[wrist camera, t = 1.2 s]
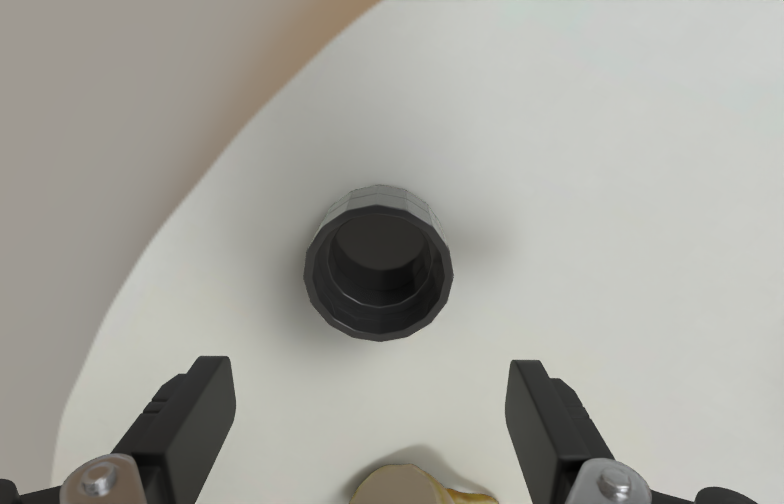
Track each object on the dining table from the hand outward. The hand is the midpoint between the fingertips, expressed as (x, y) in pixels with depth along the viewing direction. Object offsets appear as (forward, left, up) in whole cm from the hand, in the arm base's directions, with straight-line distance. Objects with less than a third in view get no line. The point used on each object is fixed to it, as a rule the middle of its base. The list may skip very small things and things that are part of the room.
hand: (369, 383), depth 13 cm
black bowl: (0, 0, -11) cm, 11 cm away
